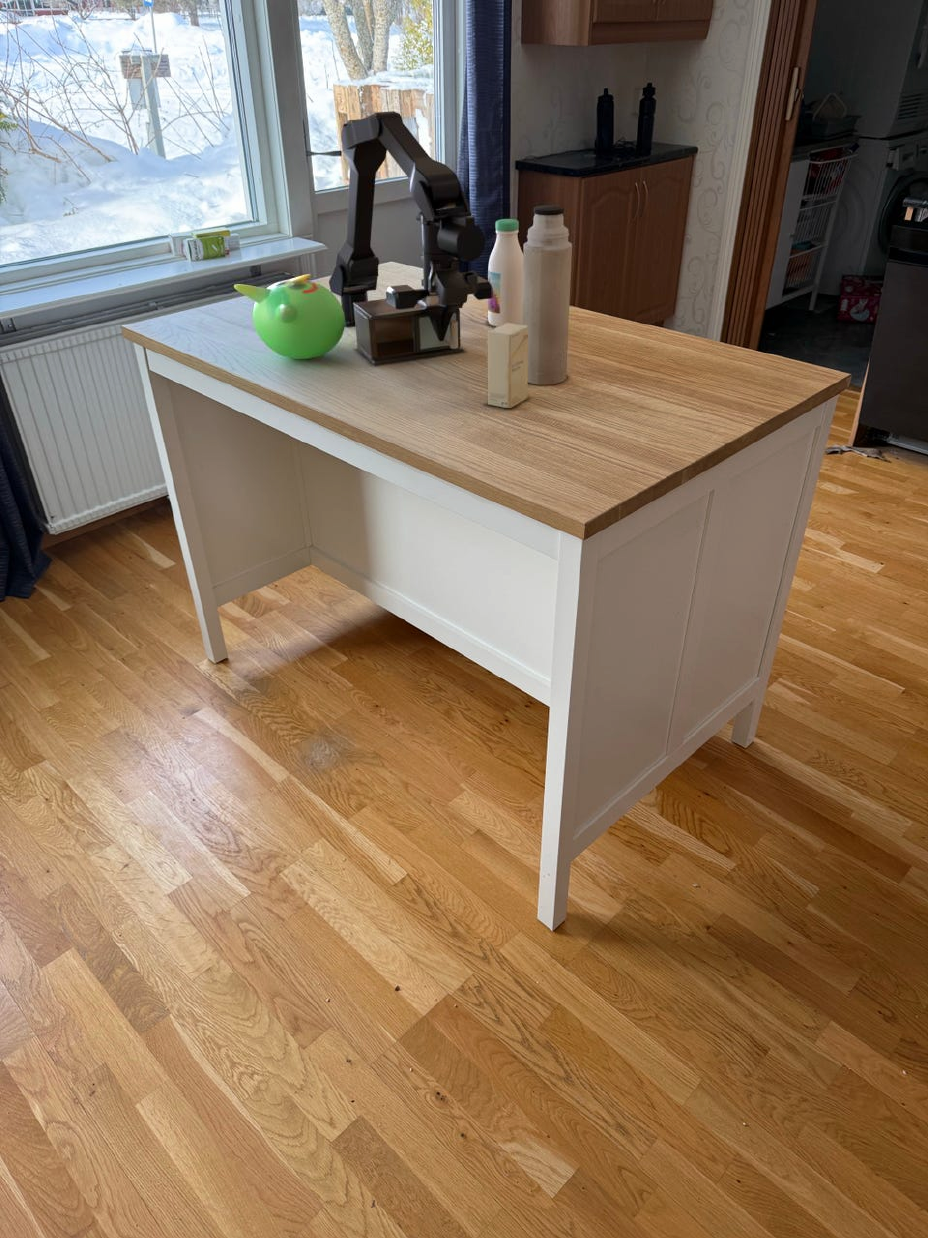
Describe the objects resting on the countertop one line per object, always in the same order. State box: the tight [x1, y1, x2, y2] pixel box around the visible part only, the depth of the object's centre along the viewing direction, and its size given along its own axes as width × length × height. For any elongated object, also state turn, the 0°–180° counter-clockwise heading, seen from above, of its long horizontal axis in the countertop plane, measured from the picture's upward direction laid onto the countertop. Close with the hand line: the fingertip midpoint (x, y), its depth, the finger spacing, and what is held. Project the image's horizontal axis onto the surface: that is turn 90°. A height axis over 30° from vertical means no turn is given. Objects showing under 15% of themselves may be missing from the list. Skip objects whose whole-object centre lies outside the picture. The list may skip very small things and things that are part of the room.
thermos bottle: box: [521, 204, 573, 386], centre depth 152 cm, size 8×8×28 cm
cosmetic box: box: [487, 323, 528, 409], centre depth 146 cm, size 6×4×12 cm
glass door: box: [414, 308, 462, 353], centre depth 167 cm, size 6×9×7 cm, turn 113°
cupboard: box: [353, 293, 464, 366], centre depth 171 cm, size 11×18×9 cm, turn 113°
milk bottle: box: [487, 218, 523, 327], centre depth 183 cm, size 8×8×20 cm
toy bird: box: [233, 273, 346, 360], centre depth 168 cm, size 18×17×15 cm
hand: (440, 340), depth 165 cm, fingers closed
